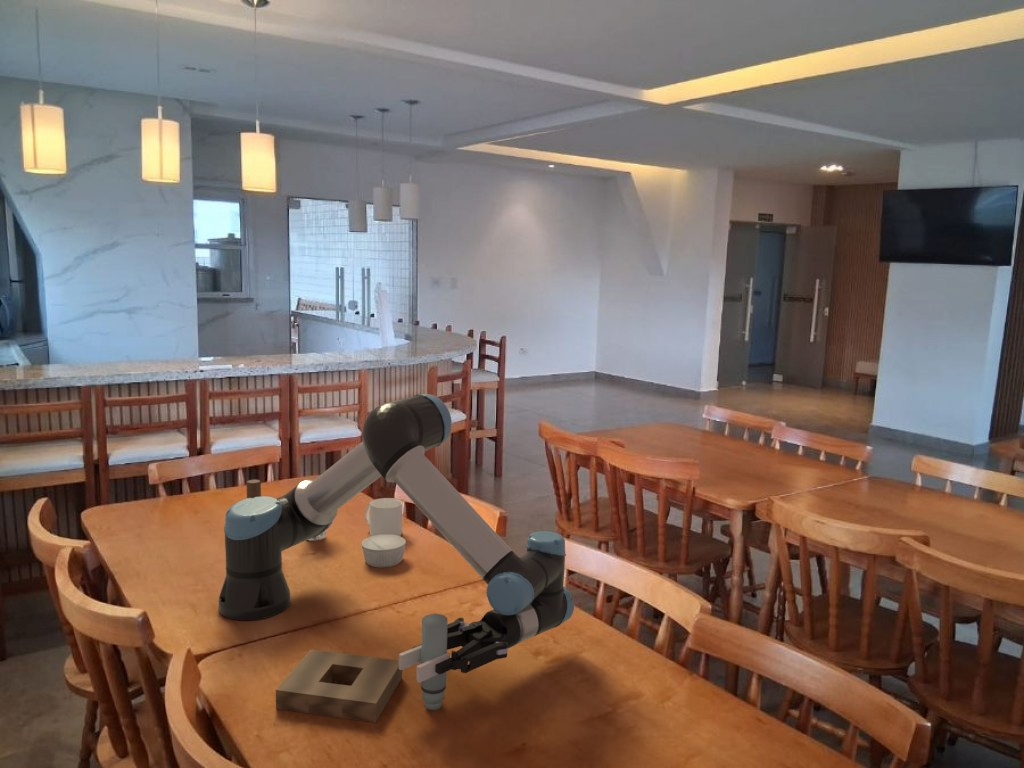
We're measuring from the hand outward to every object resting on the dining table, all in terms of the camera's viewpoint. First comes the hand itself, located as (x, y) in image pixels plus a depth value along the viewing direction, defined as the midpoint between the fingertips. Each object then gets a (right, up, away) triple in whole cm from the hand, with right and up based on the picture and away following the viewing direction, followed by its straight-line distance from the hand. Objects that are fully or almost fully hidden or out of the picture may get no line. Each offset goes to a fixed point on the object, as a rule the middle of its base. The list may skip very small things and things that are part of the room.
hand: (409, 668), depth 126 cm
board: (-13, -7, +8) cm, 17 cm away
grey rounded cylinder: (+4, -8, +5) cm, 10 cm away
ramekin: (-16, +2, +68) cm, 69 cm away
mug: (-20, +5, +87) cm, 90 cm away
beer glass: (-38, +5, +82) cm, 90 cm away
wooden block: (-50, +4, +72) cm, 88 cm away
